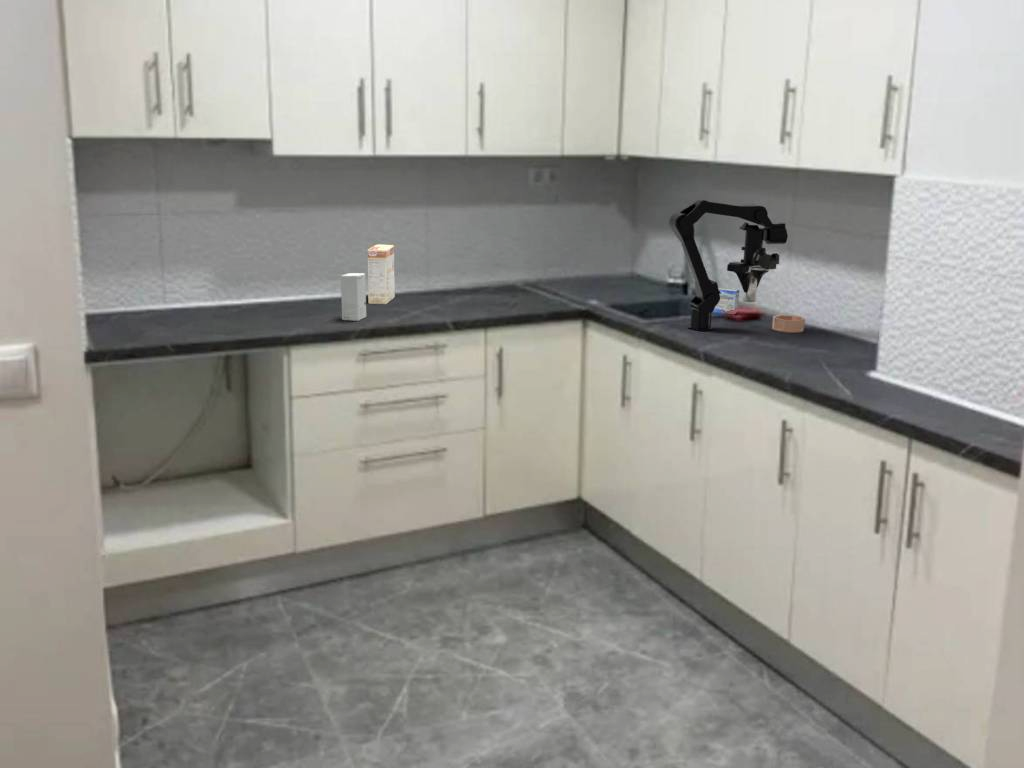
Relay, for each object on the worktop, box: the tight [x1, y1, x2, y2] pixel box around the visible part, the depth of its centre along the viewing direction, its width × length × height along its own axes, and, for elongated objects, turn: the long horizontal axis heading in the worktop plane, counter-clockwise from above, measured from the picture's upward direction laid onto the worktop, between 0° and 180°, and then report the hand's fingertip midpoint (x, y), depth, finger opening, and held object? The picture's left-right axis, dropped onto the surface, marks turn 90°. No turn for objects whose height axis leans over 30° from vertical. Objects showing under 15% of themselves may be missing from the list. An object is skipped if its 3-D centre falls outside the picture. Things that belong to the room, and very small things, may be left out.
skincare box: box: [340, 272, 367, 322], centre depth 342 cm, size 8×6×15 cm
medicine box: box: [712, 287, 740, 315], centre depth 368 cm, size 8×4×9 cm, turn 62°
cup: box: [771, 314, 806, 334], centre depth 342 cm, size 10×10×4 cm
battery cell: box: [742, 275, 758, 303], centre depth 340 cm, size 4×4×8 cm
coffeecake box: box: [367, 243, 396, 305], centre depth 376 cm, size 15×7×20 cm, turn 175°
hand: (749, 292), depth 340 cm, fingers closed on battery cell, 4 cm apart
